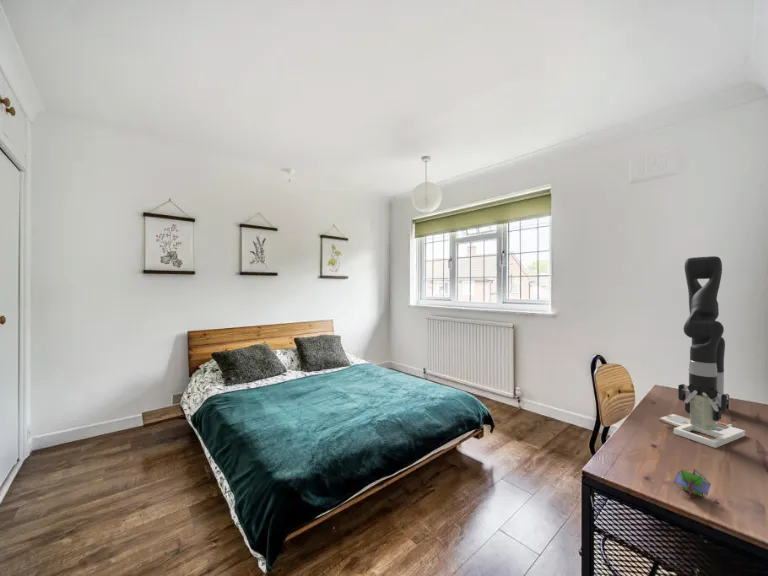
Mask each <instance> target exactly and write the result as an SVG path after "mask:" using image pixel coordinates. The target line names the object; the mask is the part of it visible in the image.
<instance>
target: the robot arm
mask: <svg viewBox="0 0 768 576" xmlns="http://www.w3.org/2000/svg"><path fill="white" fill-rule="evenodd" d="M684 274H685V279H686V284H687V291H688V310H689V316H688V317H687V319H686V321H685V323H684V325H683V332H684V335H685V336H686V337H688V338H691V346H690V347H689V363H688V385H686V384H684V383H682V384H679V385H678V390H677V391H678V392H677V393H678V400H679V401H682V402H684V410H685V411H684V412H686V413H687V414H689V415H690V401H691V400H692V398H693V397H694V396H695V395H701V396H704V397H708V398H709V404H710V405H711V406H712V407H713V409H714V410H715V411H714V421H716V422H720V421H721V420H722V412H727V411H729V410H730V409H729V408H730V394H728V393H724V392H725V387H724V386H725V351H726V350H725V349H726V340H725V339H724V337H722V336H723V335H724V332H725V331H724V330H725V329H724V325H723V324H722V322H720V321H718V320H717V319H718V317H719V310H720V308H719V301H718V293H719V289H720V285H721V281H722V274H723V261H722V260H721V258H720V257H719V256H715V255H714V256H697V257H689V258H686V259H685V261H684ZM707 279H708V281H707V282H706V283H705V284H704V285H703V286H702V285H701V283H700V281H699V280H707ZM686 391H688V392H689V395H688V396H687V394H686ZM690 393H691V394H690ZM686 396H687V397H686ZM713 398H716V402H713V401H712V400H711V399H713Z"/></svg>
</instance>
